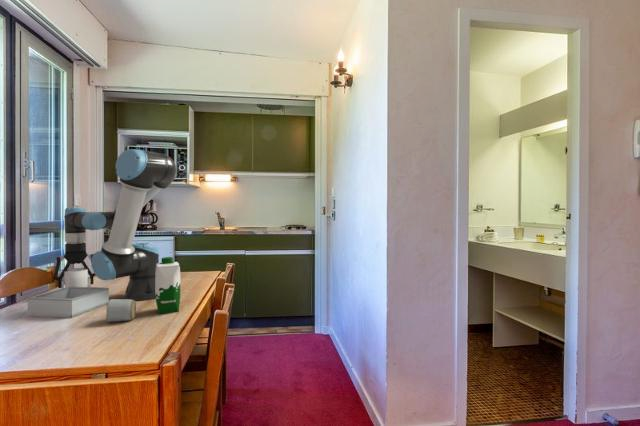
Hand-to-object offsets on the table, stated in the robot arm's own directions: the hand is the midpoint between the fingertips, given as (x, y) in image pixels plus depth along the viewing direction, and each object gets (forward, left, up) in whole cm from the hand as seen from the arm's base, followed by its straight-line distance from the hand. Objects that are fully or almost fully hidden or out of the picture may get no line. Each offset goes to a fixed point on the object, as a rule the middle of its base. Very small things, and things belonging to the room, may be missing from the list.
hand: (76, 293), depth 154 cm
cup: (0, 0, -2) cm, 2 cm away
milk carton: (-51, +13, -2) cm, 53 cm away
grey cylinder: (-41, +25, -2) cm, 48 cm away
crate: (-13, +17, -1) cm, 22 cm away
